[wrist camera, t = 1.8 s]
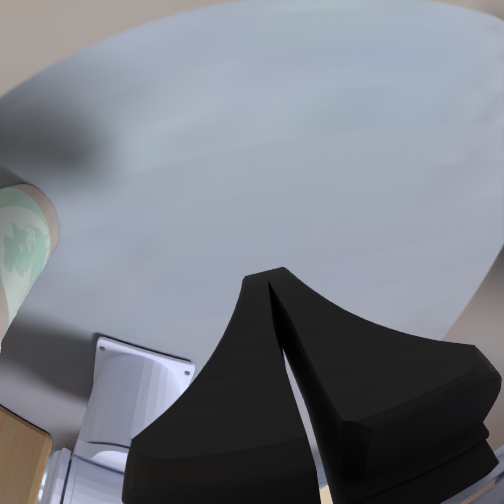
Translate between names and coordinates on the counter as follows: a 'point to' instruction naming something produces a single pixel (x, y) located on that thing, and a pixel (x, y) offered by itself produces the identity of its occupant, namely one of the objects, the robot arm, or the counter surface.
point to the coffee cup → (23, 245)
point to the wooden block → (21, 459)
